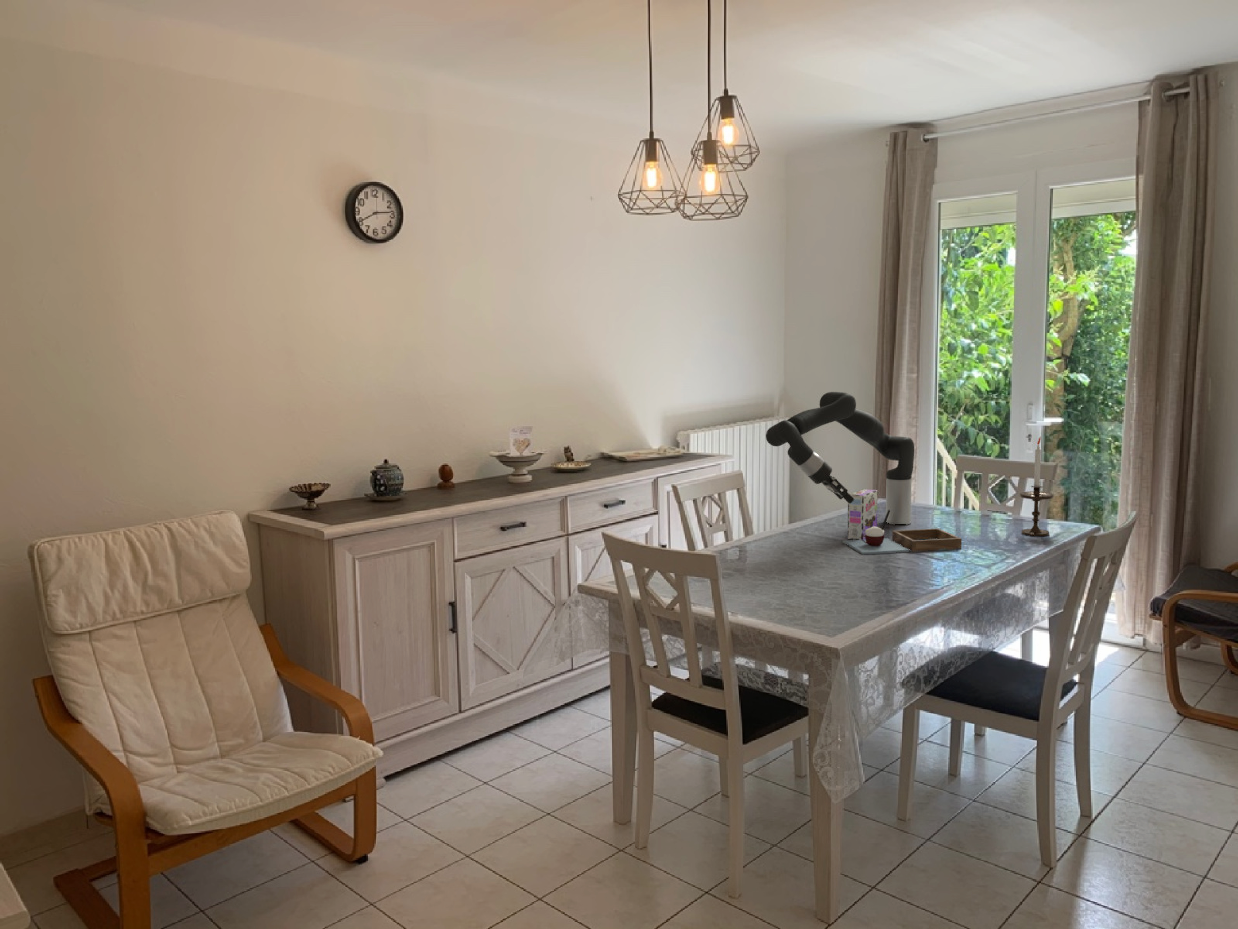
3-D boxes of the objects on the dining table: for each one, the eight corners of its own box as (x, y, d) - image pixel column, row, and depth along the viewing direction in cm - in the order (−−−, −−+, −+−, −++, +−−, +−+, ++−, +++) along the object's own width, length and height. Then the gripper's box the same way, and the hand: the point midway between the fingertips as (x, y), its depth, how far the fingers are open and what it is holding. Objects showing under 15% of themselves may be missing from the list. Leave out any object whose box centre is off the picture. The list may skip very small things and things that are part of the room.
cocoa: (860, 547, 316) (858, 512, 314) (864, 542, 322) (863, 508, 320) (888, 548, 312) (887, 513, 310) (892, 543, 317) (891, 509, 315)
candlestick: (1045, 530, 335) (1049, 434, 330) (1056, 537, 325) (1060, 437, 320) (1014, 530, 336) (1017, 434, 332) (1024, 537, 326) (1027, 438, 321)
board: (843, 542, 325) (843, 540, 325) (887, 540, 326) (887, 538, 326) (862, 554, 307) (862, 552, 307) (909, 552, 309) (909, 549, 309)
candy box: (862, 541, 326) (863, 495, 324) (846, 539, 330) (847, 493, 328) (877, 534, 337) (878, 489, 335) (862, 532, 341) (862, 488, 339)
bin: (892, 540, 326) (892, 530, 326) (938, 538, 328) (938, 528, 327) (912, 551, 309) (913, 541, 309) (961, 548, 311) (961, 538, 311)
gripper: (829, 461, 303) (862, 494, 306) (815, 456, 317) (847, 488, 320) (813, 478, 303) (847, 511, 306) (800, 472, 317) (832, 504, 320)
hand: (847, 499), depth 313 cm, fingers open, 8 cm apart
